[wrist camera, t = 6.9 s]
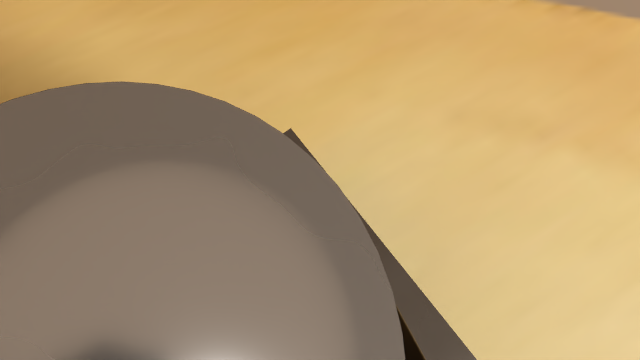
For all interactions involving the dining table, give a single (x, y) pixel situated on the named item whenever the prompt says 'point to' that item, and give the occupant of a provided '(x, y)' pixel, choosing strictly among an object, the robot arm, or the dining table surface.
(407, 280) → the collar
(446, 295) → the dining table surface
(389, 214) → the dining table surface
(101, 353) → the tube
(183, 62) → the dining table surface
